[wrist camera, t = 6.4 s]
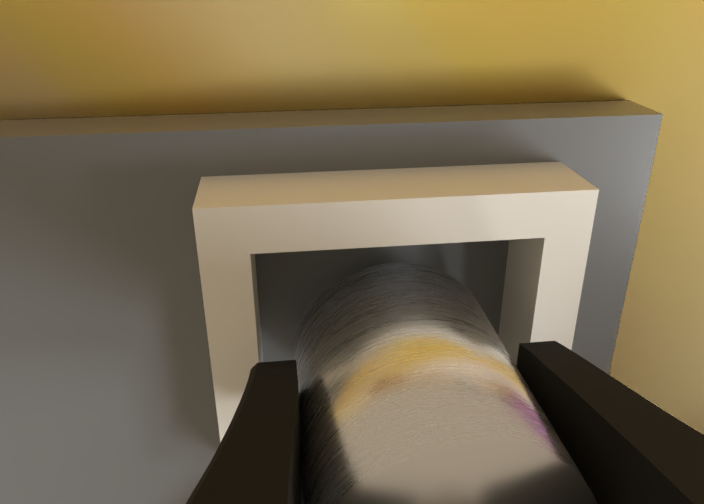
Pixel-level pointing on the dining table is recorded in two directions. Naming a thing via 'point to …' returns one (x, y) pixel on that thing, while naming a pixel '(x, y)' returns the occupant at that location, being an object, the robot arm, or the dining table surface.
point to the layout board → (276, 260)
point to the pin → (419, 400)
